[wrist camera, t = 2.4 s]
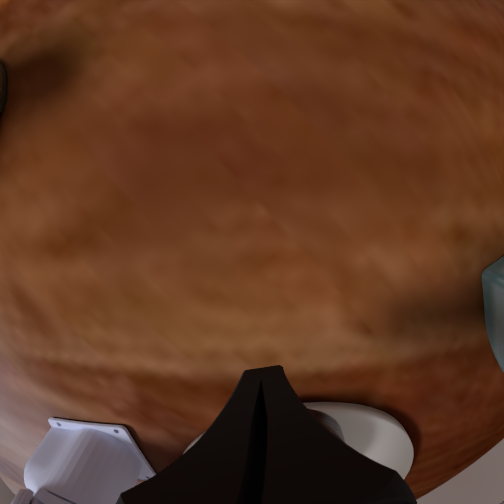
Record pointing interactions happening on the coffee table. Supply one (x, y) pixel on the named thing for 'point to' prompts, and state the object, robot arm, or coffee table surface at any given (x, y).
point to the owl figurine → (2, 86)
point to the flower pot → (494, 307)
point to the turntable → (368, 433)
